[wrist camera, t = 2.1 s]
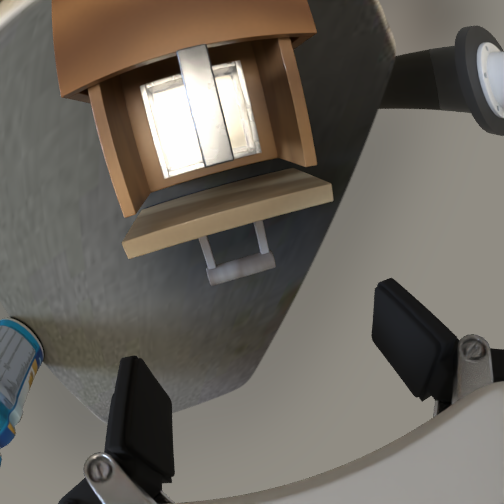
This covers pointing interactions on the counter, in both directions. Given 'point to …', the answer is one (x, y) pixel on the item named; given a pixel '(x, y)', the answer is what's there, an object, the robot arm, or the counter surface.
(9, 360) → the beverage bottle
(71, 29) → the cabinet
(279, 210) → the drawer
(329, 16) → the counter surface
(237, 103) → the silver open box
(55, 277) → the counter surface
